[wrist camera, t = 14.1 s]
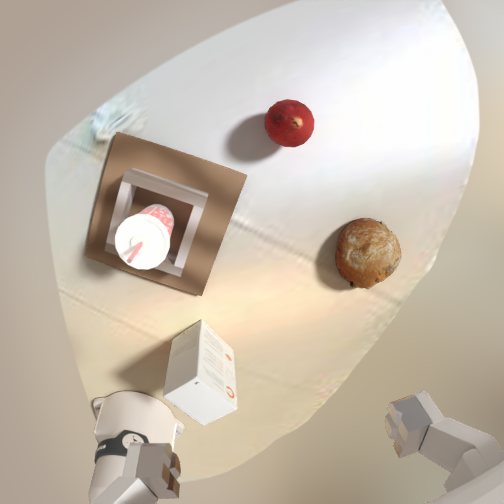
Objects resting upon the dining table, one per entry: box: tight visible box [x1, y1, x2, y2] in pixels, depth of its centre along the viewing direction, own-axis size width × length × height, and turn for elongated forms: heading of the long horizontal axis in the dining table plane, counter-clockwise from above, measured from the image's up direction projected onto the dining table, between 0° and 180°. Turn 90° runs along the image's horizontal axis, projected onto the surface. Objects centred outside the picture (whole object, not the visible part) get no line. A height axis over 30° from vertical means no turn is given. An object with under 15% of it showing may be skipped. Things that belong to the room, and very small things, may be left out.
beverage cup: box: [115, 204, 174, 270], centre depth 35 cm, size 6×6×14 cm
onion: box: [265, 99, 314, 147], centre depth 35 cm, size 6×6×8 cm
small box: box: [163, 320, 238, 426], centre depth 44 cm, size 8×6×13 cm
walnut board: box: [85, 132, 247, 296], centre depth 40 cm, size 18×18×5 cm
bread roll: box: [336, 218, 401, 289], centre depth 44 cm, size 10×10×8 cm
